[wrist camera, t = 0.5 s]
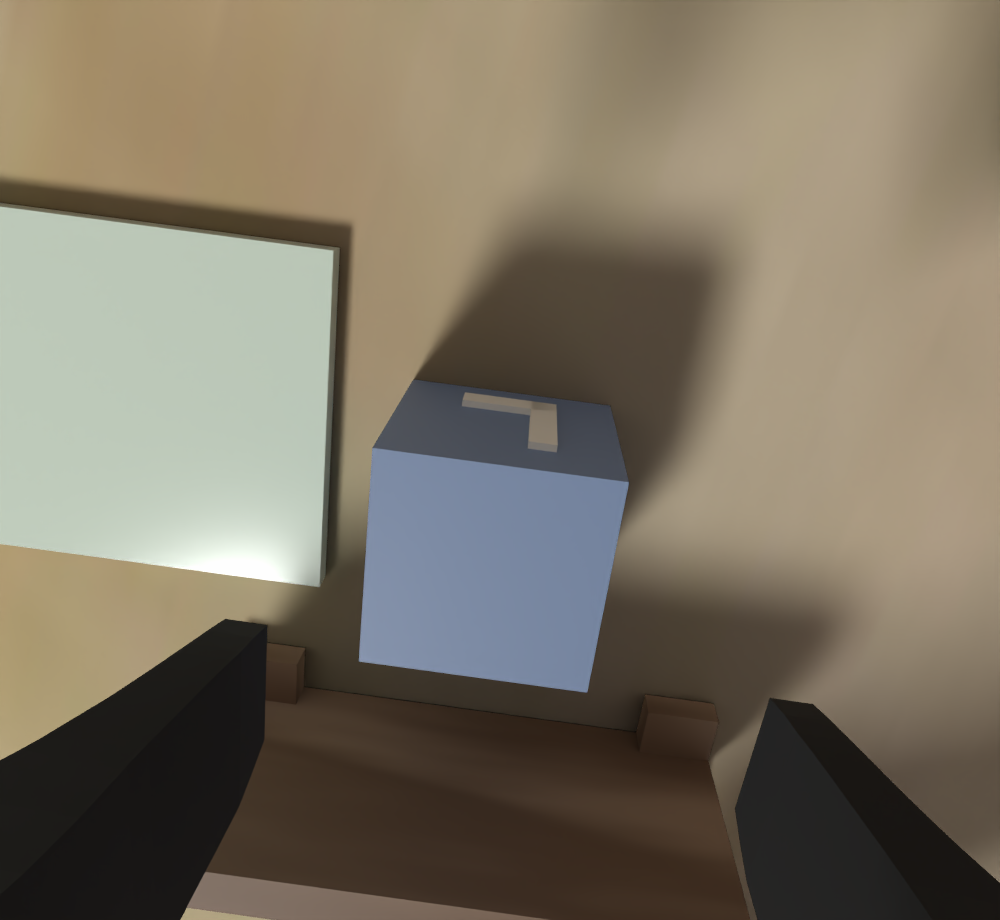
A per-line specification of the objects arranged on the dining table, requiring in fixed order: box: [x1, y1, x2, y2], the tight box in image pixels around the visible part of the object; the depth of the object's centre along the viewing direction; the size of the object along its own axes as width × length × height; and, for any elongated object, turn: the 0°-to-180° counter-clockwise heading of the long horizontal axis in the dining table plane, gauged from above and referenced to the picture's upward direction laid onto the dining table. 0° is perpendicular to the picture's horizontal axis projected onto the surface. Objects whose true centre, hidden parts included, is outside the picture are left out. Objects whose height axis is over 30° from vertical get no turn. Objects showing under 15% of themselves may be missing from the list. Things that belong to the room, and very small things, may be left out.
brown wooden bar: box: [187, 643, 750, 920], centre depth 20 cm, size 4×14×6 cm, turn 83°
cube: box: [359, 380, 629, 693], centre depth 18 cm, size 5×5×5 cm
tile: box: [0, 203, 340, 587], centre depth 20 cm, size 9×9×1 cm
